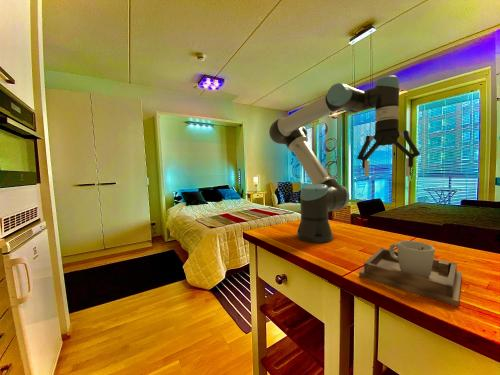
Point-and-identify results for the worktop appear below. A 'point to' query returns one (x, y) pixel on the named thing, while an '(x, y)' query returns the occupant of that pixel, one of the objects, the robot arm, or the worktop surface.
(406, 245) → the cup
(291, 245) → the worktop surface
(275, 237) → the worktop surface
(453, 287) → the square wooden tray
